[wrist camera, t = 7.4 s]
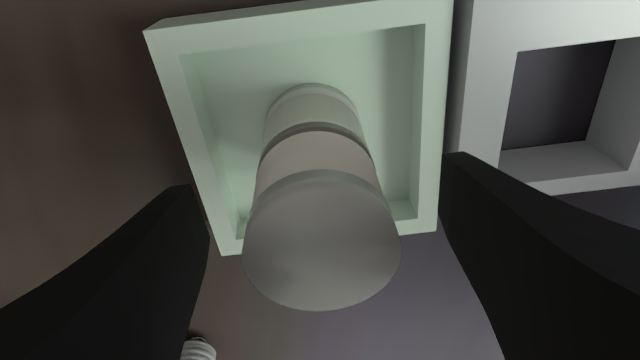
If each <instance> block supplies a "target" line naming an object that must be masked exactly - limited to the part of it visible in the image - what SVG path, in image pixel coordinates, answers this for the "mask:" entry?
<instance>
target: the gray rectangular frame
mask: <svg viewBox="0 0 640 360" xmlns="http://www.w3.org/2000/svg"><path fill="white" fill-rule="evenodd" d="M615 39H616V42H615V45H614V48H613V52H612V55H611V58H610V61H609V65H608V68H607V71H606V74H605V78H604V81H603V84H602V87H601V91H600V94H599V97H598V100H597V104H596V107H595V110H594V113H593V117H592V120H591V123H590V126H589V130H588V133H587V136H586V139H585V141H577V142H569V143H560V144H552V145H544V146H535V147H527V148H519V149H511V150H502V151H500V150H501V144H502V138H503V133H504V127H505V121H506V115H507V109H508V104H509V98H510V92H511V86H512V80H513V75H514V69H515V63H516V57H517V52H519V51H527V50H535V49H543V48H551V47H559V46H567V45H575V44H583V43H591V42H599V41H607V40H615ZM461 151H464V152H467V153H469V154H471V155H473V156H475V157H477V158H479V159H481V160H482V161H484V162H486V163H488V164H490V165H492V166H493V167H495V168H497V169H499V170H501V171H503V172H504V173H506V174H508V175H510V176H512V177H514V178H516V179H517V180H519V181H521V182H523V183H525V184H527V185H529V186H531V187H533V188H535V189H537V190H539V191H541V192H543V193H545V194H548V195H550V196H552V195H560V194H569V193H577V192H586V191H594V190H603V189H611V188H620V187H628V186H637V185H640V0H454V3H453V16H452V29H451V43H450V56H449V69H448V82H447V95H446V108H445V121H444V135H443V148H442V154H444V153H452V152H461Z"/></svg>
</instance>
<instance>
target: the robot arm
mask: <svg viewBox="0 0 640 360" xmlns="http://www.w3.org/2000/svg"><path fill="white" fill-rule="evenodd" d="M438 214H439V217H440V220H441V223H442V226H443V228H444V231H445V234H446V236H447V239H448V241H449V243H450V245H451V247H452V249H453V251H454V253H455V255H456V257H457V259H458V261H459V262H460V264H461V266H462V268H463V270H464V272H465V274H466V276H467V277H468V279H469V281H470V283H471V285H472V287H473V289H474V291H475V292H476V294H477V296H478V298H479V300H480V302H481V304H482V306H483V308H484V310H485V312H486V314H487V316H488V318H489V320H490V323H491V325H492V328H493V330H494V333H495V335H496V338H497V340H498V343H499V345H500V348H501V350H502V353H503V355H504V358H505V360H640V230H637V229H634V228H631V227H628V226H625V225H622V224H619V223H616V222H613V221H610V220H608V219H605V218H603V217H600V216H597V215H595V214H592V213H590V212H587V211H584V210H582V209H579V208H577V207H574V206H572V205H570V204H567V203H565V202H563V201H561V200H558V199H556V198H554V197H552V196H550V195H548V194H545V193H543V192H541V191H539V190H537V189H535V188H533V187H531V186H529V185H527V184H525V183H523V182H521V181H519V180H517V179H516V178H514V177H512V176H510V175H508V174H506V173H504V172H503V171H501V170H499V169H497V168H495V167H493V166H492V165H490V164H488V163H486V162H484V161H482V160H481V159H479V158H477V157H475V156H473V155H471V154H469V153H467V152H464V151H461V152H452V153H444V154H442V158H441V172H440V185H439V198H438ZM209 244H210V236H209V233H208V230H207V227H206V225H205V222H204V219H203V216H202V214H201V211H200V208H199V205H198V202H197V200H196V197H195V194H194V191H193V189H192V186H191V184H187V185H179V186H171V187H169V188H167V189H166V190H164V191H163V192H162V193H161V194H159V195H158V196H157V197H156V198H154V199H153V200H152V201H151V202H150V203H148V204H147V205H146V206H145V207H144V208H142V209H141V210H140V211H139V212H138V213H137V214H135V215H134V216H133V217H132V218H131V219H129V220H128V221H127V222H126V223H125V224H123V225H122V226H121V227H120V228H119V229H117V230H116V231H115V232H114V233H112V234H111V235H110V236H109V237H107V238H106V239H105V240H103V241H102V242H101V243H100V244H98V245H97V246H96V247H94V248H93V249H92V250H91V251H89V252H88V253H87V254H85V255H84V256H83V257H81V258H80V259H79V260H77V261H76V262H74V263H73V264H72V265H70V266H69V267H67V268H66V269H64V270H63V271H61V272H60V273H58V274H57V275H55V276H54V277H52V278H51V279H49V280H48V281H46V282H45V283H43V284H42V285H40V286H38V287H37V288H35V289H33V290H32V291H30V292H28V293H27V294H25V295H23V296H21V297H20V298H18V299H16V300H15V301H13V302H11V303H9V304H8V305H6V306H4V307H3V308H1V309H0V360H180V359H181V354H182V350H183V346H184V342H185V338H186V334H187V331H188V328H189V324H190V321H191V318H192V314H193V311H194V308H195V304H196V301H197V298H198V294H199V291H200V287H201V284H202V280H203V277H204V273H205V270H206V265H207V258H208V251H209Z"/></svg>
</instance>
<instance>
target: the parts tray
mask: <svg viewBox="0 0 640 360" xmlns="http://www.w3.org/2000/svg"><path fill="white" fill-rule="evenodd" d="M453 3H454V0H303V1H295V2H287V3H280V4H272V5H264V6H256V7H249V8H241V9H233V10H226V11H218V12H210V13H202V14H195V15H187V16H179V17H172V18H164V19H161V20H160V21H158V22H156V23H155V24H153V25H151V26H150V27H148V28H146V29H145V30H143V34H144V37H145V40H146V43H147V46H148V49H149V51H150V54H151V57H152V60H153V63H154V66H155V68H156V71H157V74H158V77H159V80H160V83H161V86H162V88H163V91H164V94H165V97H166V100H167V103H168V105H169V108H170V111H171V114H172V117H173V120H174V123H175V125H176V128H177V131H178V134H179V137H180V140H181V142H182V145H183V148H184V151H185V154H186V157H187V160H188V162H189V165H190V168H191V171H192V174H193V177H194V179H195V182H196V185H197V188H198V191H199V194H200V197H201V199H202V202H203V205H204V208H205V211H206V214H207V216H208V219H209V222H210V225H211V228H212V231H213V234H214V236H215V239H216V242H217V245H218V248H219V251H220V253H221V256H227V255H236V254H242V247H243V241H244V236H245V230H246V225H247V219H248V215H249V212H250V210H251V207H252V202H253V196H254V191H255V185H256V175H257V169H258V164H259V160H260V156H261V150H262V144H263V130H264V125H265V119H266V115H267V112H268V110H269V108H270V106H271V105H272V103H273V102H274V100H275V99H276V98H277V97H278V96H279V95H280V94H282V93H283V92H284V91H286V90H288V89H289V88H292V87H294V86H297V85H300V84H305V83H321V84H326V85H329V86H332V87H334V88H336V89H338V90H340V91H341V92H343V93H344V94H345V95H346V96H347V97H348V98H349V99H350V100H351V101H352V102H353V104H354V106H355V107H356V110H357V112H358V115H359V118H360V121H361V124H362V127H363V133H364V137H365V140H366V143H367V146H368V149H369V152H370V154H371V157H372V160H373V163H374V166H375V169H376V174H377V177H378V180H379V183H380V186H381V189H382V192H383V195H384V198H385V200H386V201H387V203H388V205H389V208H390V210H391V213H392V216H393V219H394V222H395V225H396V228H397V231H398V234H399V235H407V234H416V233H424V232H433V231H436V227H437V213H438V198H439V185H440V172H441V158H442V148H443V135H444V121H445V108H446V95H447V82H448V69H449V56H450V43H451V29H452V16H453Z"/></svg>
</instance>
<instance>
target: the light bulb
mask: <svg viewBox="0 0 640 360" xmlns="http://www.w3.org/2000/svg"><path fill="white" fill-rule="evenodd" d="M215 357H216V351H215V349H214V348H213V347H212V346H211V345H210V344H208V343H206V340H205V339H204V338H201V337H193V338H192V339H191V340H188V341H185V342H184V346H183V350H182V354H181V359H180V360H216V359H215Z"/></svg>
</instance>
